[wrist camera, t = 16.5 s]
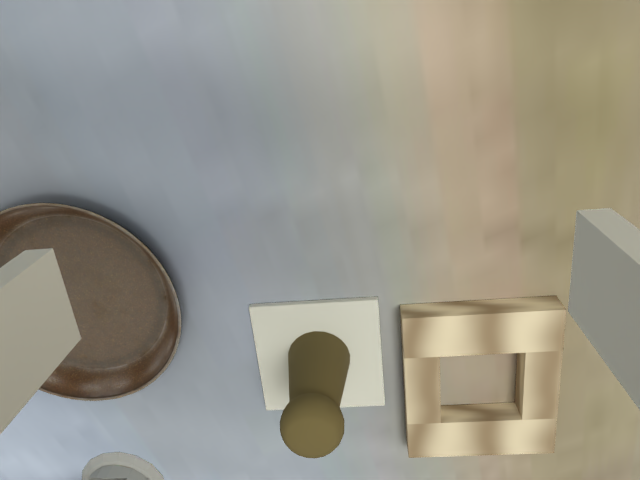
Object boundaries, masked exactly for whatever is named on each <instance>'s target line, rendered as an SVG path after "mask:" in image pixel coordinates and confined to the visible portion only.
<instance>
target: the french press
mask: <svg viewBox="0 0 640 480" xmlns="http://www.w3.org/2000/svg"><path fill="white" fill-rule="evenodd" d="M82 480H164V478H163V476H162V475H161V474H160V472H159V471H158V470H157V469H156V468H155V467H154V466H153V465H152V464H151V463H149V462H147V461H145V460H143V459H141V458H140V457H138V456H135V455H131V454H126V453H121V452H114V453H103V454H101V455H99V456H97V457H95V458H93V459H91V460H90V461H89V462H88V463H87V465H86V466H85V467H84V469H83V471H82Z"/></svg>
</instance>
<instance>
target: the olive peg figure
mask: <svg viewBox="0 0 640 480" xmlns="http://www.w3.org/2000/svg"><path fill="white" fill-rule="evenodd" d="M349 365H350V353H349V350H348V347H347V346H346V345H345V343H344V342H343V341H342V340H341V339H340V338H338V337H337V336H335V335H333V334H330V333H327V332H323V331H313V332H309V333H305V334H303V335H301V336H300V337H298V338H296V340H295V341H294V342H293V343H292V344H291V346H290V349H289V352H288V369H289V403H288V404H287V405H286V407H285V409H284V411H283V413H282V416H281V419H280V432H281V436H282V438H283V441H284V443H285V444H286V445H287V447H288V448H289V449H290V450H291V451H292V452H294V453H296V454H297V455H299V456H303V457H306V458H319V457H324V456H326V455H327V454H329V453H331V452H332V451H333V450H334V449H335V448H336V447H337V446H338V445H339V444H340V442H341V439H342V437H343V434H344V418H343V415H342V412H341V410H340V404H341V399H342V395H343V391H344V386H345V382H346V378H347V373H348V369H349Z"/></svg>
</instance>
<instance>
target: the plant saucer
mask: <svg viewBox="0 0 640 480" xmlns="http://www.w3.org/2000/svg"><path fill="white" fill-rule="evenodd" d="M49 248H53V250H54V253H55V257H56V260H57V263H58V266H59V269H60V272H61V276H62V279H63V282H64V285H65V288H66V292H67V295H68V298H69V301H70V304H71V307H72V311H73V314H74V317H75V320H76V323H77V326H78V330H79V333H80V336H81V339H80V341H79V342H78V343H77V344H76V345H75V347H74V348H73V349H72V350H71V351H70V352H69V354H68V355H67V356H66V357H65V358H64V360H63V361H62V362H61V363H60V364H59V366H58V367H57V368H56V369H55V370H54V371H53V373H52V374H51V375H50V376H49V377H48V379H47V380H46V381H45V382H44V383H43V384H42V386H41V387H40V388H39V390H41V391H44V392H47V393H49V394H53V395H56V396H60V397H64V398H70V399H75V400H84V401H87V400H89V401H100V400H110V399H116V398H120V397H124V396H126V395H129V394H133V393H135V392H137V391H139V390H141V389H143V388H145V387H146V386H148V385H149V384H151V383H152V382H154V381H155V380H156V379H157V378H158V377H159V376H160V375H161V374H162V373H163V372H164V371H165V370H166V368H167V367H168V365H169V364H170V362H171V361H172V359H173V357H174V355H175V352H176V350H177V347H178V344H179V339H180V334H181V312H180V306H179V301H178V298H177V295H176V292H175V289H174V287H173V284H172V282H171V280H170V278H169V276H168V274H167V273H166V271H165V269H164V268H163V266H162V265H161V263H160V262H159V260H158V259H157V258H156V257H155V255H154V254H153V253H152V252H151V251H150V249H149V248H148V247H147V246H146V245H145V244H144V243H142V242H141V241H140V240H139V239H138V238H137V237H135V236H134V235H133V234H132V233H131V232H129V231H128V230H126V229H125V228H123V227H122V226H120V225H119V224H117V223H115V222H113V221H111V220H109V219H107V218H105V217H103V216H101V215H98V214H96V213H93V212H91V211H88V210H84V209H81V208H77V207H73V206H68V205H63V204H54V203H33V204H25V205H20V206H15V207H12V208H8V209H5V210H3V211H1V212H0V268H1V267H2V266H4V265H5V264H6V263H8V262H9V261H11V260H12V259H13V258H15V257H16V256H18V255H19V254H20V253H22V252H23V251H25V250H35V249H49Z"/></svg>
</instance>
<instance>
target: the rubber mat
mask: <svg viewBox="0 0 640 480" xmlns="http://www.w3.org/2000/svg"><path fill="white" fill-rule="evenodd" d="M249 311H250V317H251V323H252V329H253V334H254V340H255V346H256V352H257V358H258V364H259V369H260V375H261V381H262V387H263V393H264V399H265V404H266V410H284V409H285V407H286V405H287V404H288V403H289V369H288V352H289V349H290V346H291V344H292V343H293V342H294V341H295V340H296V338H298V337H300V336H301V335H303V334H305V333H309V332H313V331H323V332H327V333H330V334H333V335H335V336H337V337H338V338H340V339H341V340H342V341H343V342H344V343H345V345H346V346H347V347H348V350H349V353H350V365H349V369H348V373H347V378H346V382H345V386H344V391H343V395H342V399H341V404H340V407H359V406H383V405H385V398H384V383H383V368H382V353H381V338H380V323H379V308H378V297H362V298H345V299H329V300H312V301H295V302H279V303H262V304H250V306H249Z"/></svg>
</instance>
